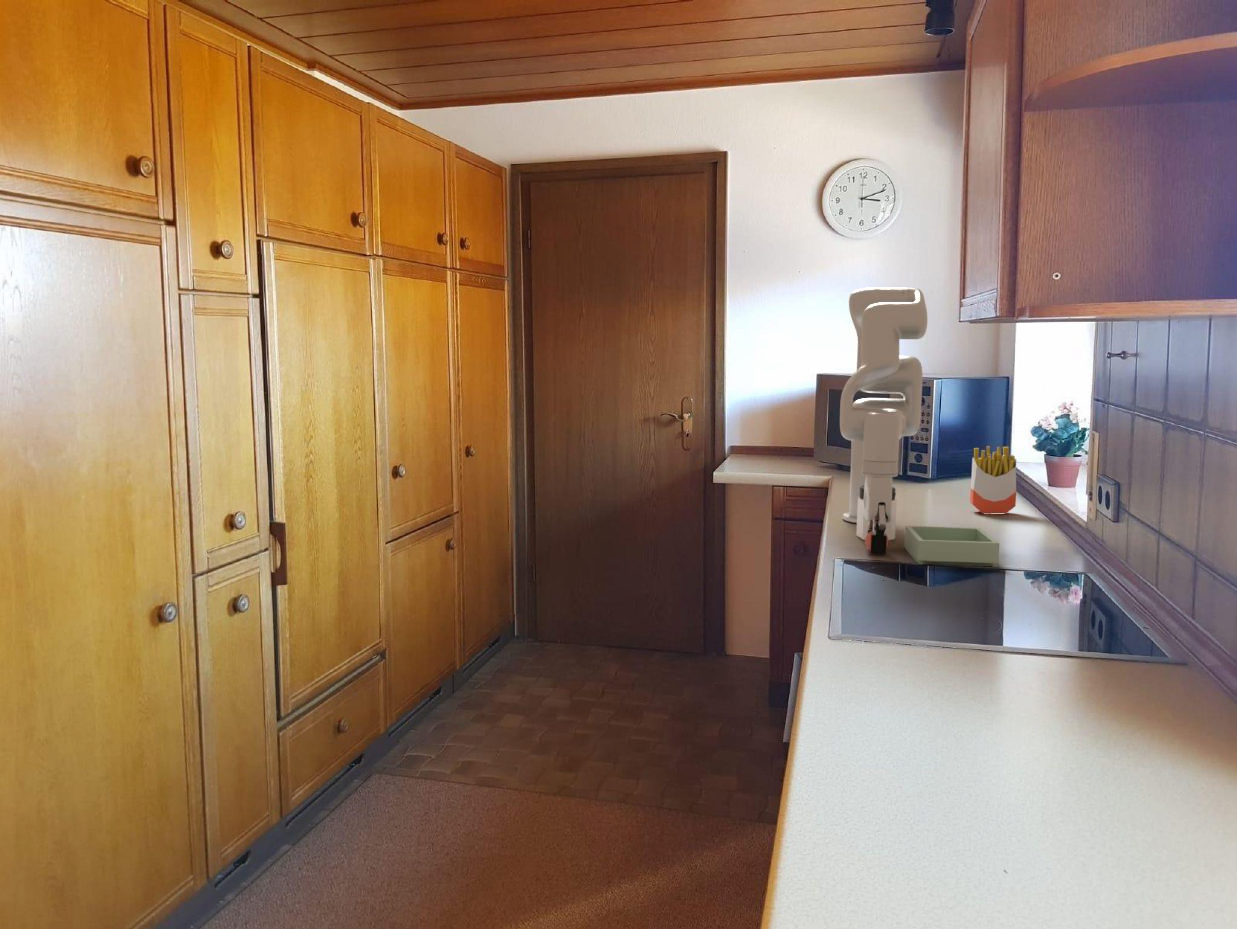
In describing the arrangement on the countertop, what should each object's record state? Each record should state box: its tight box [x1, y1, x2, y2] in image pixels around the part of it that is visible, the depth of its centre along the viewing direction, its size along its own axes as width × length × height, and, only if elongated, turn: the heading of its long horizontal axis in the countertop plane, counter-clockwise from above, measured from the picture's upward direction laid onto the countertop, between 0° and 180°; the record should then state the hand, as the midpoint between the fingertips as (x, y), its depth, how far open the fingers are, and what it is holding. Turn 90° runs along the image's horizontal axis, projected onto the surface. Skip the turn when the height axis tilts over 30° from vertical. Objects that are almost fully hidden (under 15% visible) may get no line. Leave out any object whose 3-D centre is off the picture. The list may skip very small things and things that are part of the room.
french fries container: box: [969, 445, 1017, 514], centre depth 251 cm, size 5×11×18 cm, turn 79°
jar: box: [855, 486, 898, 541], centre depth 219 cm, size 9×8×12 cm
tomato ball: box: [864, 531, 890, 552], centre depth 204 cm, size 5×5×5 cm
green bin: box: [904, 525, 1000, 568], centre depth 200 cm, size 16×16×5 cm
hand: (876, 549), depth 204 cm, fingers closed on tomato ball, 4 cm apart
